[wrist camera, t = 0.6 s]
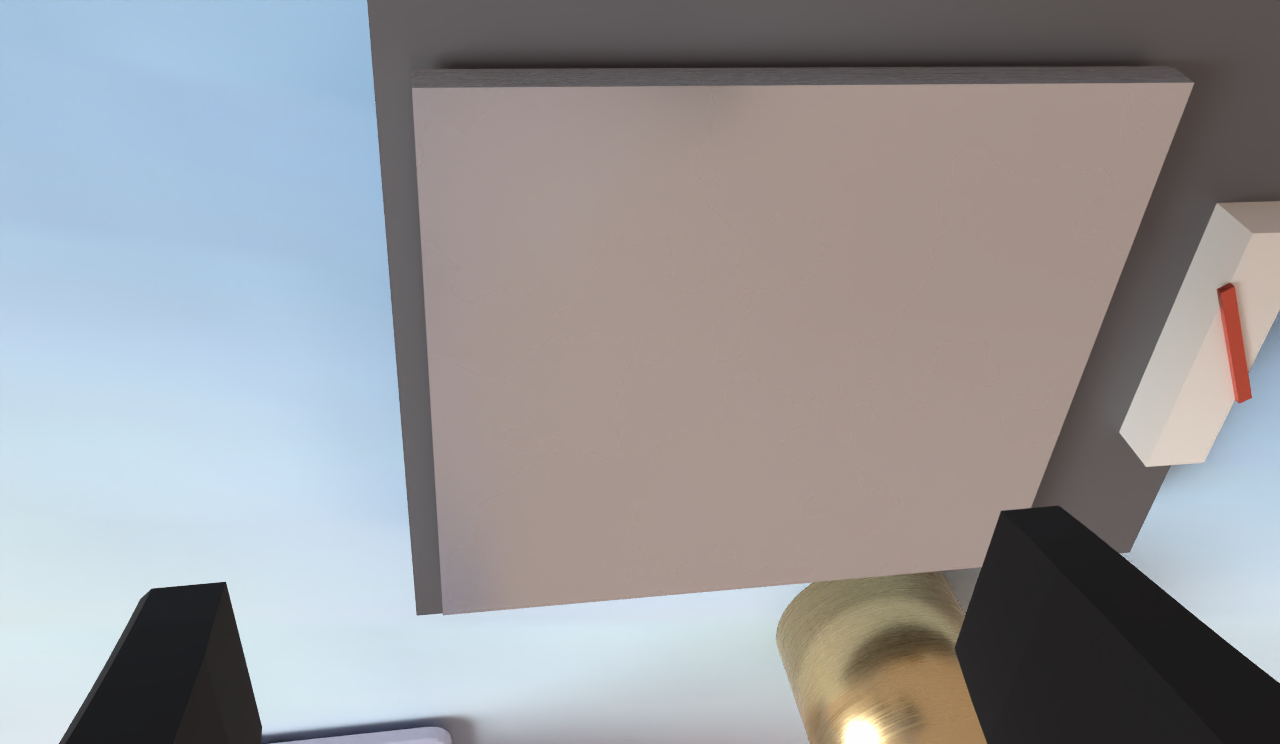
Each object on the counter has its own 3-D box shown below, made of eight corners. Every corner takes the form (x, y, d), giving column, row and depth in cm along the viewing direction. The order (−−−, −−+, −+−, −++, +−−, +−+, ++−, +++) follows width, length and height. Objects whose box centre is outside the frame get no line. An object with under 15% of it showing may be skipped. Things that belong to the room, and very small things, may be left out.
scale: (1084, 488, 26) (1157, 592, 23) (415, 539, 23) (417, 663, 20) (1309, -49, 18) (1449, 20, 16) (368, -65, 16) (364, 14, 13)
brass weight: (928, 668, 29) (1002, 829, 25) (764, 685, 28) (817, 853, 25) (970, 549, 26) (1058, 710, 23) (790, 564, 26) (853, 733, 22)
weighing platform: (996, 542, 23) (1008, 564, 22) (441, 590, 21) (443, 615, 20) (1171, 66, 17) (1194, 82, 16) (411, 68, 15) (412, 87, 14)
